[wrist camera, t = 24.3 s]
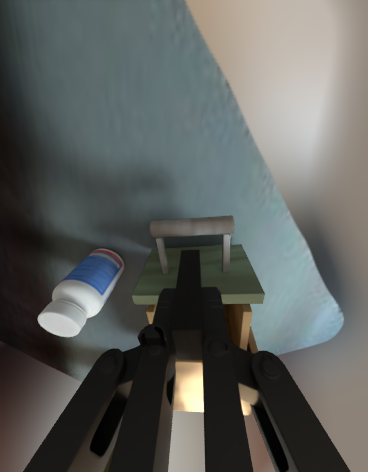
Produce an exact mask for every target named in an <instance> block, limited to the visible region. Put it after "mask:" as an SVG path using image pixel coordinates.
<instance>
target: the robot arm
mask: <svg viewBox="0 0 368 472" xmlns="http://www.w3.org/2000/svg"><path fill="white" fill-rule="evenodd" d="M138 340H139V342H140V344H141V345H139V346H138V347H135V348H133V349H130V350H127V351H124V352H122V351H121V350H119V349H114V348H113V349H110V350H108V351H106V352H105V353H103V354H102V355H101V356H100V358H99V359H98V360H97V361H96V363H95V364H94V366H93V367H92V369H91V370H90V372H89V373H88V375H87V376H86V378H85V379H84V381H83V382H82V384H81V385H80V387H79V388H78V390H77V391H76V393H75V395H74V396H73V397H72V399H71V401H70V402H69V404H68V405H67V406H66V408H65V409H64V411H63V412H62V414H61V415H60V417H59V418H58V420H57V421H56V423H55V424H54V426H53V427H52V429H51V430H50V432H49V434H48V435H47V436H46V438H45V439H44V441H43V442H42V444H41V445H40V447H39V449H38V450H37V451H36V453H35V454H34V456H33V457H32V459H31V461H30V462H29V464H28V465H27V467H26V468H25V470H24V471H23V472H103V471H104V469H105V467H106V464H107V462H108V460H109V457H110V455H111V452H112V450H113V448H114V445H115V448H114V451H113V455H112V459H111V462H110V466H109V470H108V472H168V464H169V452H170V441H171V429H172V417H173V406H174V394H175V383H176V367H175V364H176V357H177V360H202V364H203V401H204V437H205V472H253V467H252V462H251V456H250V450H249V444H248V439H247V433H246V427H245V421H244V416H243V410H242V404H241V400H243V401H245V402H247V403H249V404H250V406H251V409H252V411H253V414H254V417H255V419H256V422H257V425H258V427H259V430H260V432H261V435H262V438H263V440H264V443H265V445H266V448H267V451H268V453H269V456H270V458H271V461H272V464H273V466H274V469H275V471H276V472H350V470H349V468H348V467H347V465H346V464H345V462H344V460H343V459H342V457H341V455H340V454H339V452H338V451H337V449H336V448H335V446H334V444H333V443H332V441H331V439H330V438H329V436H328V434H327V433H326V431H325V430H324V428H323V427H322V425H321V423H320V422H319V420H318V418H317V417H316V415H315V414H314V412H313V410H312V409H311V407H310V405H309V404H308V402H307V401H306V399H305V397H304V396H303V394H302V393H301V391H300V389H299V388H298V386H297V385H296V383H295V381H294V380H293V378H292V376H291V375H290V373H289V372H288V370H287V368H286V367H285V365H284V364H283V363H282V361H281V360H280V359H279V358H278V357H277V356H275V355H274V354H273V353H270V352H268V351H258V352H256V353H252V352H249V351H246V350H244V349H242V348H240V347H238V346H236V345H235V344H234V343H233V342H232V341H231V339H230V337H229V336H228V332H227V327H226V321H225V315H224V309H223V303H222V297H221V292H220V291H219V290H218V288H217V287H202V278H201V262H200V249H197V250H181V256H180V263H179V270H178V277H177V284H176V288H164V289H163V290H162V292H161V293H160V294H159V298H158V303H157V306H156V310H155V314H154V318H153V322H152V324H149V325H148V326H146V327H144V328H143V329H142V331H141V332H140V333H139V335H138ZM115 443H116V444H115Z"/></svg>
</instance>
